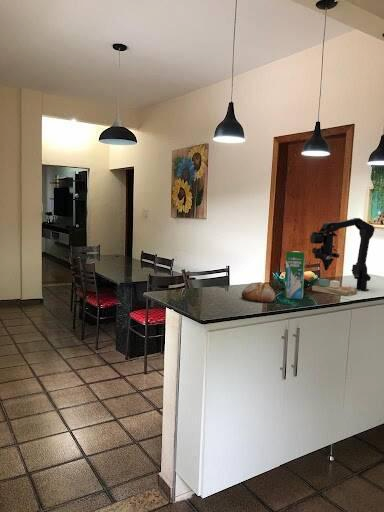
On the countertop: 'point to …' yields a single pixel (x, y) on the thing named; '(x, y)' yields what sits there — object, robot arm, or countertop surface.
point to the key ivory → (335, 284)
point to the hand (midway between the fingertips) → (326, 270)
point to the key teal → (323, 282)
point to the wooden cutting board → (334, 290)
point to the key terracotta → (345, 288)
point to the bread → (258, 292)
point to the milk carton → (294, 275)
